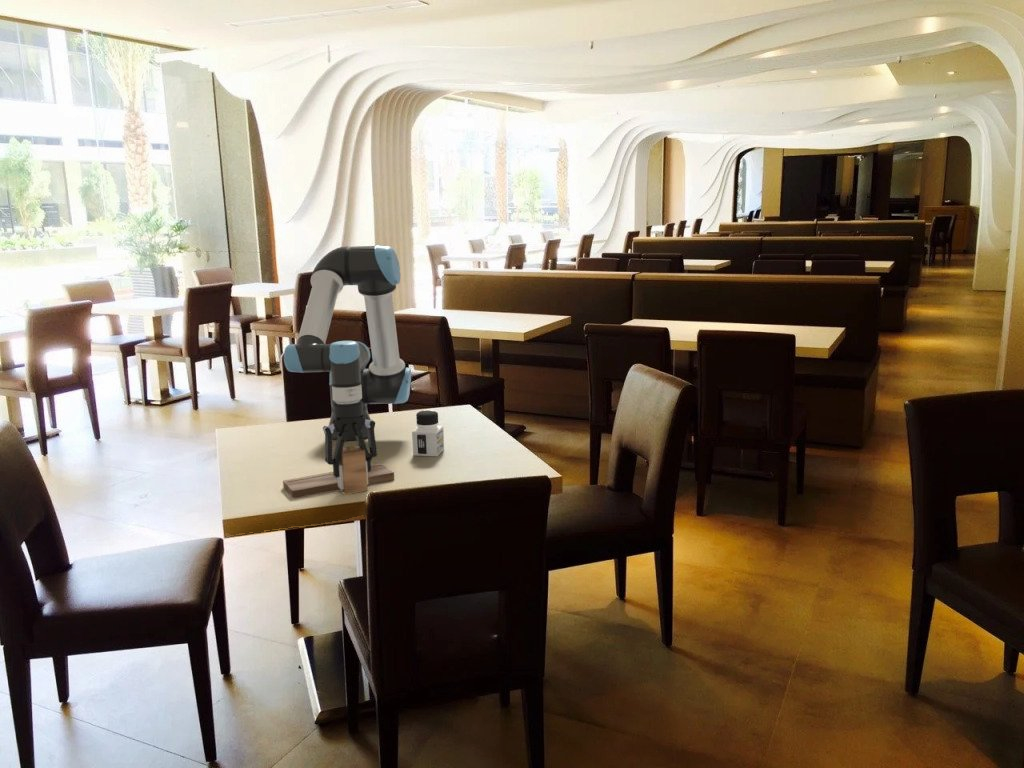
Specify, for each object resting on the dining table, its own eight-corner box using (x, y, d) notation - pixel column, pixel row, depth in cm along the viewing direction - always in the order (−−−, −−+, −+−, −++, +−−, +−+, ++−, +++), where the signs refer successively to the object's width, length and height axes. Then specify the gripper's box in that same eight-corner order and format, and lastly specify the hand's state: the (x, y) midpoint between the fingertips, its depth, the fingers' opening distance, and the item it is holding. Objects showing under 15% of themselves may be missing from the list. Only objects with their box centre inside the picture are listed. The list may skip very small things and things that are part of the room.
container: (437, 456, 246) (435, 414, 244) (412, 455, 248) (410, 414, 245) (444, 449, 254) (442, 408, 251) (420, 448, 255) (418, 408, 253)
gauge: (329, 479, 226) (326, 438, 224) (350, 476, 229) (347, 435, 227) (345, 494, 214) (342, 451, 212) (367, 490, 217) (364, 447, 215)
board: (283, 487, 221) (282, 480, 221) (381, 469, 235) (381, 462, 234) (293, 498, 213) (292, 490, 212) (394, 479, 226) (393, 472, 226)
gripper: (315, 408, 205) (322, 496, 210) (387, 398, 214) (392, 483, 219) (307, 402, 211) (313, 488, 216) (377, 393, 220) (382, 475, 225)
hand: (353, 485), depth 218 cm, fingers closed on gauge, 6 cm apart
